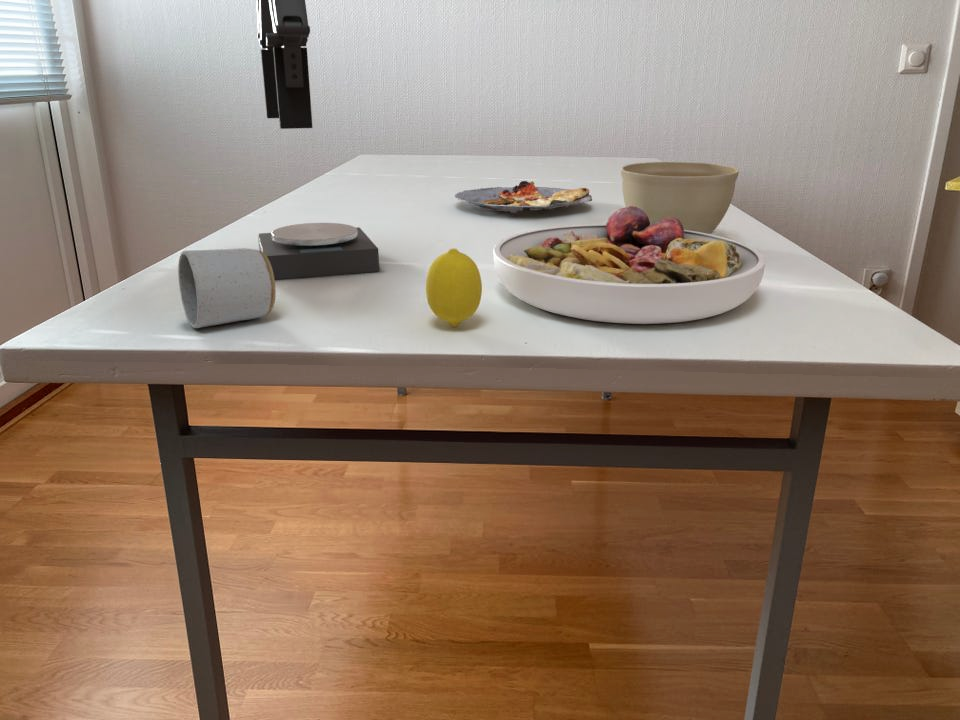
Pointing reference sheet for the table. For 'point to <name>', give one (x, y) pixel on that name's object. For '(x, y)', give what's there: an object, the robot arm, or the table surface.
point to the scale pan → (314, 234)
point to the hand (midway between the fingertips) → (287, 123)
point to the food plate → (524, 197)
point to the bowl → (628, 270)
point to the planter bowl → (681, 192)
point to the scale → (320, 257)
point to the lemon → (453, 287)
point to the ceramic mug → (225, 285)
